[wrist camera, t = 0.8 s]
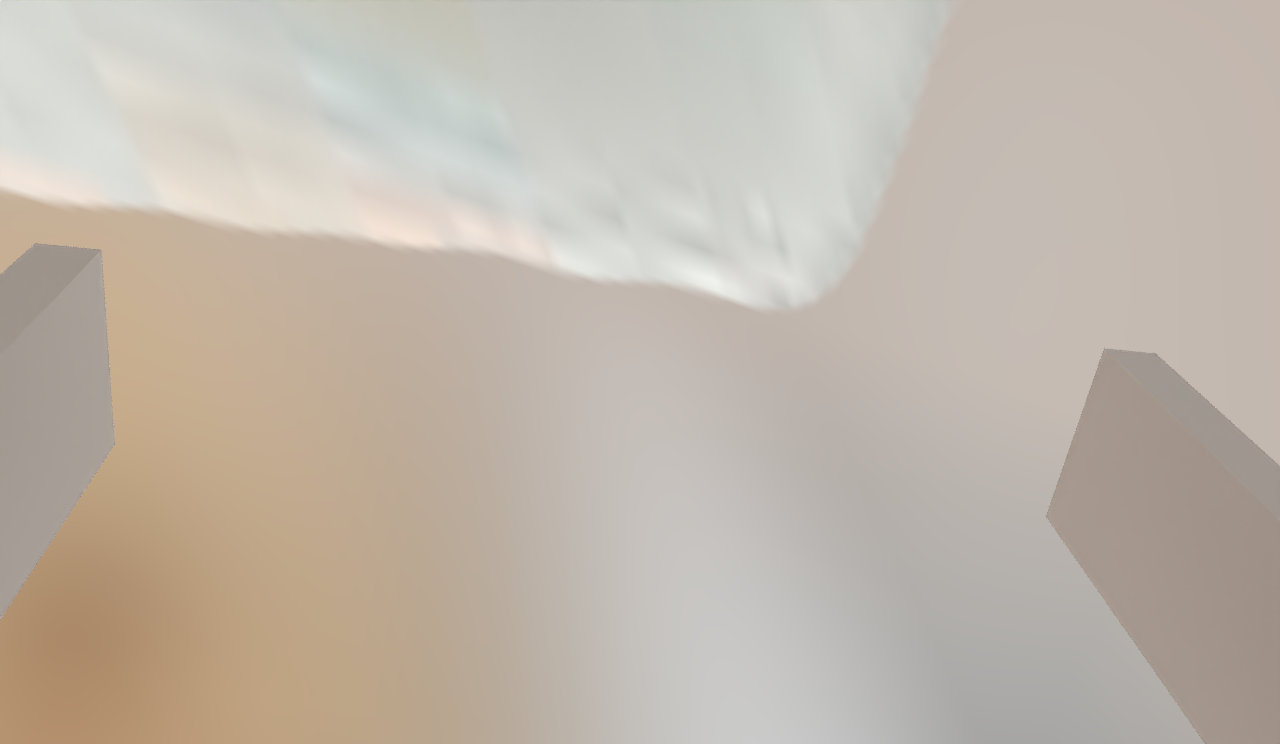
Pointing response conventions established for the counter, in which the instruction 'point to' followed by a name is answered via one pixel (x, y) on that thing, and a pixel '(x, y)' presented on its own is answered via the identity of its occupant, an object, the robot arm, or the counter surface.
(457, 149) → the counter surface
